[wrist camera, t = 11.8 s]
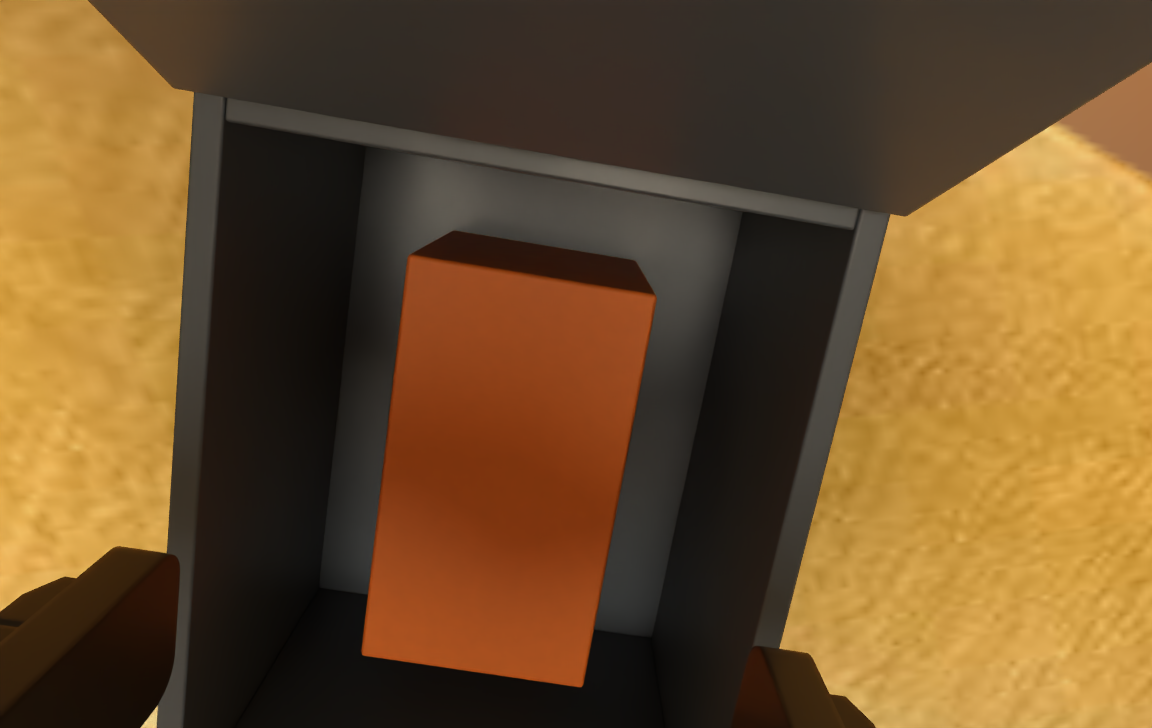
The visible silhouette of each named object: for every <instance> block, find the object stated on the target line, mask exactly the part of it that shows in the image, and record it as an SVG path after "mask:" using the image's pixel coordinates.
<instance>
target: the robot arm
mask: <svg viewBox="0 0 1152 728" xmlns="http://www.w3.org/2000/svg"><path fill="white" fill-rule="evenodd" d="M179 583H180V564H179V560H178V558H177V557H176V556H175V555H173V554H167V553H160V552H154V551H147V550H141V549H134V548H128V547H121V546H118V547H115V548H113V549H111V550H110V551H109V552H107V553H106V554H105V555H104V556H103V557H101V558H100V559H99V560H98V561H97V562H95V563H94V564H93V565H92V566H91V567H89V568H88V569H87V570H86V571H85V572H83V573H82V574H81V575H80V576H79V577H78V578H70V577H62V578H60V579H58V580H55V581H53V582H51V583H48V584H46V585H44V586H41V587H39V588H37V589H34V590H32V591H29V592H27V593H25V594H23V595H21V596H20V597H19V598H17V599H16V600H15V601H14V602H12V603H11V604H10V605H8V606H7V607H6V608H5V609H3V610H2V611H1V612H0V728H140V727H141V726H142V725H143V724H144V722H145V721H146V720H147V718H148V717H149V716H150V714H151V713H152V712H153V711H154V709H155V708H156V707H157V705H158V704H159V702H160V700H161V699H162V697H163V695H164V693H165V690H166V688H167V685H168V683H169V680H170V677H171V673H172V669H173V665H174V659H175V647H176V631H177V615H178V599H179ZM730 728H875V726H874V724H873V723H872V722H871V721H870V720H869V719H868V718H867V717H866V716H865V715H864V714H863V713H862V712H861V711H860V710H859V709H858V708H857V707H856V706H855V705H854V704H852V703H851V702H850V701H849V700H848V699H847V698H846V697H844V696H838V695H831V694H829V692H828V690H827V688H826V686H825V684H824V681H823V679H822V677H821V675H820V673H819V671H818V669H817V667H816V665H815V662H814V660H813V658H812V657H811V656H810V655H809V654H808V653H803V652H796V651H790V650H783V649H777V648H770V647H764V646H754V647H753V648H752V649H751V651H750V653H749V656H748V659H747V662H746V666H745V670H744V674H743V678H742V682H741V686H740V690H739V694H738V698H737V702H736V706H735V710H734V715H733V719H732V723H731V727H730Z"/></svg>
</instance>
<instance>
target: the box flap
mask: <svg viewBox="0 0 1152 728" xmlns="http://www.w3.org/2000/svg"><path fill="white" fill-rule="evenodd" d="M88 1H89V2H90V3H91V4H92V5H93V6H94V7H95V8H96V9H97V10H98V11H99V12H100V13H101V14H102V15H103V16H104V17H105V18H106V19H107V20H108V21H109V22H110V24H111V25H112V26H113V27H114V28H115V29H116V30H117V31H118V32H119V33H120V34H121V35H122V36H123V37H124V38H125V39H126V40H127V41H128V42H129V43H130V44H131V45H132V46H133V47H134V48H135V49H136V50H137V51H138V52H139V53H140V54H141V55H142V56H143V57H144V58H145V59H146V60H147V61H148V62H149V63H150V65H151V66H152V67H153V68H154V69H155V70H156V71H157V72H158V73H159V74H160V75H161V76H162V77H163V78H164V79H165V80H166V81H167V82H168V83H169V84H170V85H171V86H172V87H173V88H175V89H181V90H187V91H192V92H198V93H204V94H209V95H215V96H221V97H227V98H232V99H238V100H244V101H249V102H255V103H261V104H267V105H272V106H278V107H284V108H289V109H295V110H301V111H306V112H312V113H318V114H324V115H329V116H335V117H341V118H346V119H352V120H358V121H364V122H369V123H375V124H381V125H386V126H392V127H398V128H403V129H409V130H415V131H421V132H426V133H432V134H438V135H443V136H449V137H455V138H461V139H466V140H472V141H478V142H483V143H489V144H495V145H500V146H506V147H512V148H518V149H523V150H529V151H535V152H540V153H546V154H552V155H558V156H563V157H569V158H575V159H580V160H586V161H592V162H597V163H603V164H609V165H615V166H620V167H626V168H632V169H637V170H643V171H649V172H655V173H660V174H666V175H672V176H677V177H683V178H689V179H694V180H700V181H706V182H712V183H717V184H723V185H729V186H734V187H740V188H746V189H752V190H757V191H763V192H769V193H774V194H780V195H786V196H791V197H797V198H803V199H809V200H814V201H820V202H826V203H831V204H837V205H843V206H849V207H854V208H860V209H866V210H871V211H877V212H883V213H888V214H894V215H900V216H908V215H909V214H911V213H912V212H914V211H915V210H917V209H919V208H920V207H922V206H923V205H925V204H927V203H928V202H930V201H931V200H933V199H935V198H936V197H938V196H939V195H941V194H943V193H944V192H946V191H947V190H949V189H951V188H952V187H954V186H955V185H957V184H959V183H960V182H962V181H963V180H965V179H967V178H968V177H970V176H971V175H973V174H974V173H976V172H978V171H979V170H981V169H982V168H984V167H986V166H987V165H989V164H990V163H992V162H994V161H995V160H997V159H998V158H1000V157H1002V156H1003V155H1005V154H1006V153H1008V152H1010V151H1011V150H1013V149H1014V148H1016V147H1018V146H1019V145H1021V144H1022V143H1024V142H1025V141H1027V140H1029V139H1030V138H1032V137H1033V136H1035V135H1037V134H1038V133H1040V132H1041V131H1043V130H1045V129H1046V128H1048V127H1049V126H1051V125H1053V124H1054V123H1056V122H1057V121H1059V120H1061V119H1062V118H1064V117H1065V116H1067V115H1068V114H1070V113H1071V112H1073V111H1075V110H1076V109H1078V108H1080V107H1081V106H1083V105H1084V104H1086V103H1088V102H1089V101H1091V100H1092V99H1094V98H1095V97H1097V96H1099V95H1100V94H1102V93H1104V92H1105V91H1107V90H1108V89H1110V88H1112V87H1113V86H1115V85H1116V84H1118V83H1119V82H1121V81H1123V80H1124V79H1126V78H1127V77H1129V76H1131V75H1132V74H1134V73H1135V72H1137V71H1139V70H1140V69H1142V68H1143V67H1145V66H1147V65H1148V64H1150V63H1151V62H1152V0H88Z"/></svg>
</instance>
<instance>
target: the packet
mask: <svg viewBox="0 0 1152 728" xmlns="http://www.w3.org/2000/svg"><path fill="white" fill-rule="evenodd" d="M656 301H657V297H656V294H655V293H654V291H653V289H652V288H651V286H650V284H649V282H648V281H647V279H646V277H645V276H644V274H643V272H642V271H641V269H640V267H639V265H638V264H637V262H636V261H634V260H629V259H623V258H617V257H611V256H605V255H599V254H593V253H587V252H581V251H575V250H569V249H563V248H557V247H551V246H545V245H539V244H533V243H527V242H521V241H515V240H509V239H503V238H497V237H491V236H485V235H479V234H473V233H467V232H461V231H452V232H450V233H448V234H446V235H444V236H442V237H441V238H439V239H437V240H435V241H433V242H432V243H430V244H428V245H426V246H424V247H422V248H421V249H419V250H417V251H415V252H413V253H411V254H410V255H409V256H408V258H407V266H406V274H405V283H404V291H403V300H402V308H401V317H400V325H399V334H398V342H397V351H396V359H395V368H394V376H393V385H392V393H391V402H390V410H389V419H388V427H387V436H386V445H385V453H384V462H383V470H382V479H381V487H380V496H379V504H378V513H377V521H376V530H375V538H374V547H373V555H372V564H371V572H370V581H369V589H368V598H367V606H366V615H365V623H364V632H363V640H362V649H361V652H362V655H364V656H369V657H376V658H383V659H390V660H396V661H403V662H410V663H417V664H424V665H430V666H437V667H444V668H451V669H458V670H464V671H471V672H478V673H485V674H492V675H498V676H505V677H512V678H519V679H526V680H533V681H539V682H546V683H553V684H560V685H567V686H573V687H582V686H583V684H584V679H585V674H586V669H587V664H588V658H589V653H590V648H591V643H592V637H593V632H594V627H595V622H596V616H597V611H598V606H599V601H600V595H601V590H602V585H603V580H604V574H605V569H606V564H607V559H608V553H609V548H610V543H611V538H612V532H613V527H614V522H615V517H616V511H617V506H618V501H619V495H620V490H621V485H622V480H623V474H624V469H625V464H626V459H627V453H628V448H629V443H630V438H631V432H632V427H633V422H634V417H635V411H636V406H637V401H638V396H639V390H640V385H641V380H642V375H643V369H644V364H645V359H646V354H647V348H648V343H649V338H650V333H651V327H652V322H653V317H654V312H655V306H656Z"/></svg>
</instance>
